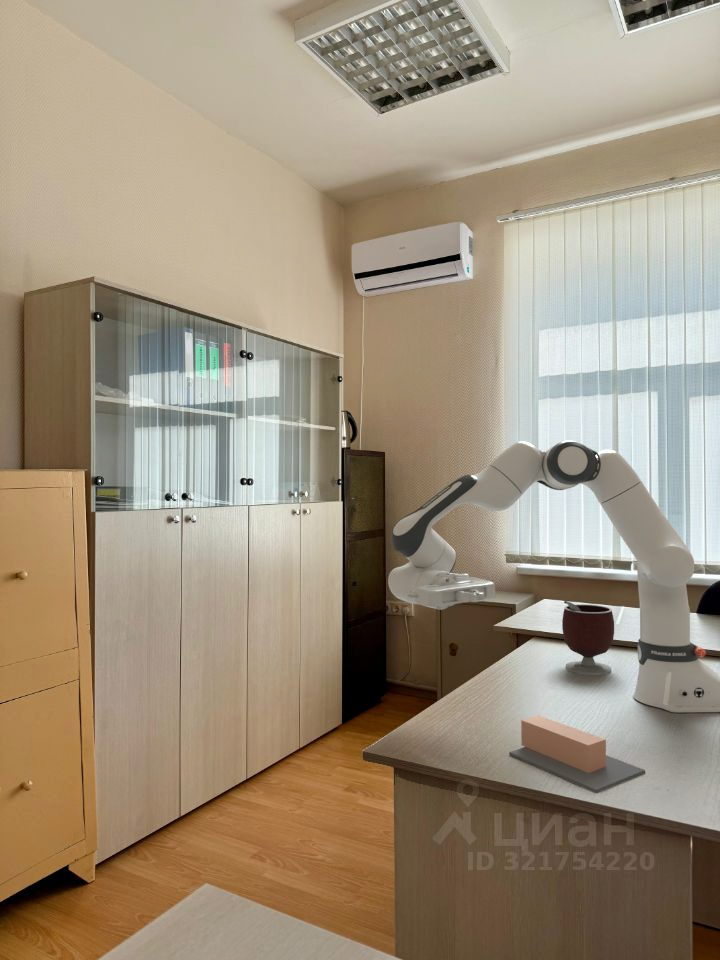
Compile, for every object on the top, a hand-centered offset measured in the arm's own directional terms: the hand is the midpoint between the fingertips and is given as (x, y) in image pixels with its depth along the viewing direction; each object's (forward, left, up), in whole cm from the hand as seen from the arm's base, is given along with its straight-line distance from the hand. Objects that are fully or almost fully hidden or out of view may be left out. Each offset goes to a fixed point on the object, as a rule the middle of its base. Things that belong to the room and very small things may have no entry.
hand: (479, 597), depth 151 cm
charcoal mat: (-18, +18, -28) cm, 37 cm away
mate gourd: (-28, -49, -28) cm, 64 cm away
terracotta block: (-10, +10, -25) cm, 28 cm away
